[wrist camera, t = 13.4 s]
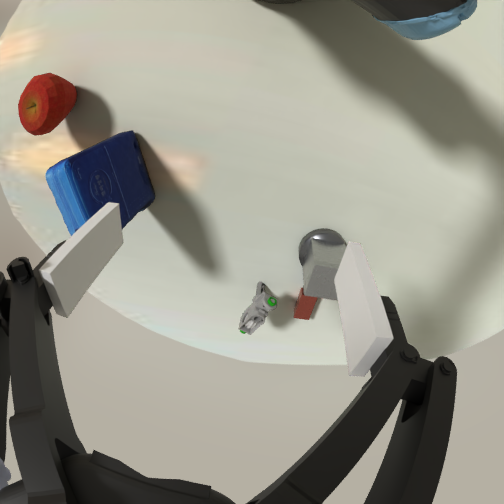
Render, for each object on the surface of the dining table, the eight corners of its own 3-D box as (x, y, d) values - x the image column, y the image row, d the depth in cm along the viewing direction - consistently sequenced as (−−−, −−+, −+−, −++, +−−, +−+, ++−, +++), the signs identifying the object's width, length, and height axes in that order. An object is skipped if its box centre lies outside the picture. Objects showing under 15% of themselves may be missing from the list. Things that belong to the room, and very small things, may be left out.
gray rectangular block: (311, 237, 49) (314, 264, 42) (345, 243, 48) (353, 271, 42) (302, 266, 52) (304, 295, 46) (334, 271, 52) (340, 300, 46)
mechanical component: (281, 272, 56) (280, 308, 48) (254, 302, 61) (248, 337, 53) (269, 265, 55) (265, 300, 47) (242, 295, 61) (235, 330, 52)
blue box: (160, 198, 49) (106, 262, 33) (137, 203, 51) (80, 265, 34) (137, 125, 42) (62, 160, 25) (114, 134, 43) (38, 173, 26)
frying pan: (304, 224, 49) (307, 249, 43) (351, 233, 49) (360, 258, 43) (281, 308, 62) (280, 336, 55) (320, 314, 62) (322, 341, 55)
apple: (80, 130, 42) (38, 148, 32) (47, 114, 40) (5, 129, 30) (97, 78, 37) (53, 84, 27) (61, 65, 34) (17, 71, 24)
